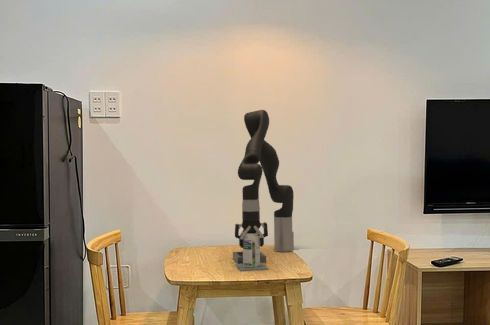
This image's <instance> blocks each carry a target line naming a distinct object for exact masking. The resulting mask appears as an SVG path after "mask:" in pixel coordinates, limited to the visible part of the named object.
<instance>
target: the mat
mask: <svg viewBox="0 0 490 325" xmlns="http://www.w3.org/2000/svg"><path fill="white" fill-rule="evenodd" d="M234 265H235V266H236V268H237V269H238V271H240V272H249V271H251V272H253V271H265V270H269V268H268V266H266V265H265V263H262V262H261V263H260V265H259V266H257V267H255V268H252V267H243V264H237V263H235V264H234Z"/></svg>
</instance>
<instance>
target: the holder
mask: <svg viewBox="0 0 490 325" xmlns="http://www.w3.org/2000/svg"><path fill="white" fill-rule="evenodd" d="M232 259H233V260H234V261H235V264H243V251H232ZM261 262H262V263H263V264H265V263H266V264H267V255H266V254H264V253H263V252H262V251H261V250H260V263H261Z"/></svg>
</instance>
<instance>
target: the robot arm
mask: <svg viewBox="0 0 490 325" xmlns="http://www.w3.org/2000/svg"><path fill="white" fill-rule="evenodd" d="M243 120H244V125H245V128H246V130H247V132H248V135H249V136H250V139H249V140H248V141H247V144H246V147H245V151H244V156H243V158H242V160H241V162H240V164H239V166H238V168H237V177H239V179H240V180H243V181H252V184H249V185H244V186H243V187H242V201H241V202H242V203H241V206H242V207H241V209H242V210H241V211H242V214H241V215H242V216H241V217H242V221H241V223H235V224H234V237H235V238H236V239H238V241H239V242H238V246H239V247H240V248H241V249H243V237H244V236H245V235H246V233H258V234H259V235H260V248H263V246H264V245H265V241H264V240H265V237H266V238H267V237H268V236H269V229H268V223H267V222H265V221H263V222H261V220H260V219H261V218H260V217H261V215H260V214H261V213H260V212H261V211H260V210H261V208H260V196H259V194H260V191H259V190H260V182H261V179H262V176H263V174H264V176H265V177H264V178H265V180H266V185H267V189H268V193H269V196H270V199H271V201H272V202H273V203H277V204H281V207H280V208H279V209H277V210H274V212H273V226H274V227H273V233H274V234H273V236H274V237H273V238H274V240H273V242H274V244H273V245H274V247H273V248H274V249H273V250H274V251H276V252H278V253H279V252H281V253H283V252H284V253H287V252H293V251H295V248H294V247H295V245H294V244H295V241H294V240H295V237H294V236H295V235H294V231H293V213H294V212H293V211H294V190H293V187H292V186H291V185H288V184H279V183H278V180H277V173H278V171H279V166H280V160H279V155H278V153H277V151H276V149H275V148H274V147H273V146H272V145H271V144H270V143H269V142H267V141H266V140H265V138H266V135H267V133H268V129H269V127H270V117H269V113H268V112H267V110H266V109H259V110H255V111H250V112H249V111H248V112H246V113H245V114H244V116H243ZM259 163H260V164H259ZM261 227H262V228H263V232H261V230H260V228H261ZM241 228H242V231H241V233H240V232H239V231H240V229H241Z"/></svg>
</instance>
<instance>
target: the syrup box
mask: <svg viewBox="0 0 490 325" xmlns="http://www.w3.org/2000/svg"><path fill="white" fill-rule="evenodd" d="M260 249H261V247H260V235H259V234H258V233H257V232H256V233H246V235H245V236H244V237H243V248H242V252H243V267H252V268H255V267H257V266H259V265H260V251H261V250H260Z"/></svg>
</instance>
